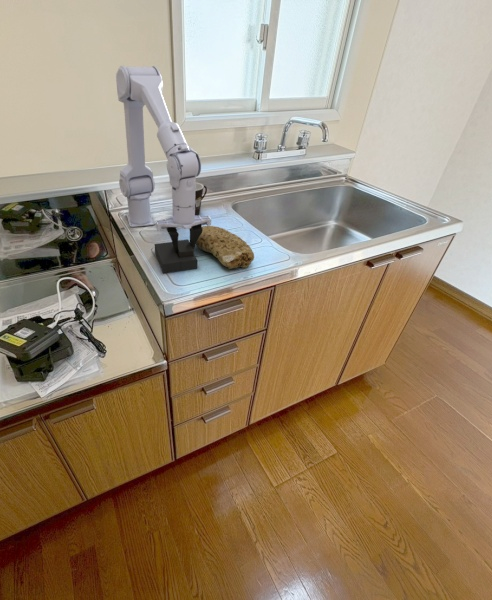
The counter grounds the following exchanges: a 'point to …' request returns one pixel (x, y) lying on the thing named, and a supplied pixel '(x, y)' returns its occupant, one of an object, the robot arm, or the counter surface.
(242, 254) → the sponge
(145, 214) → the robot arm
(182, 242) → the pad piece
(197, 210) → the coffee mug
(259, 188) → the counter surface
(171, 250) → the base pad
